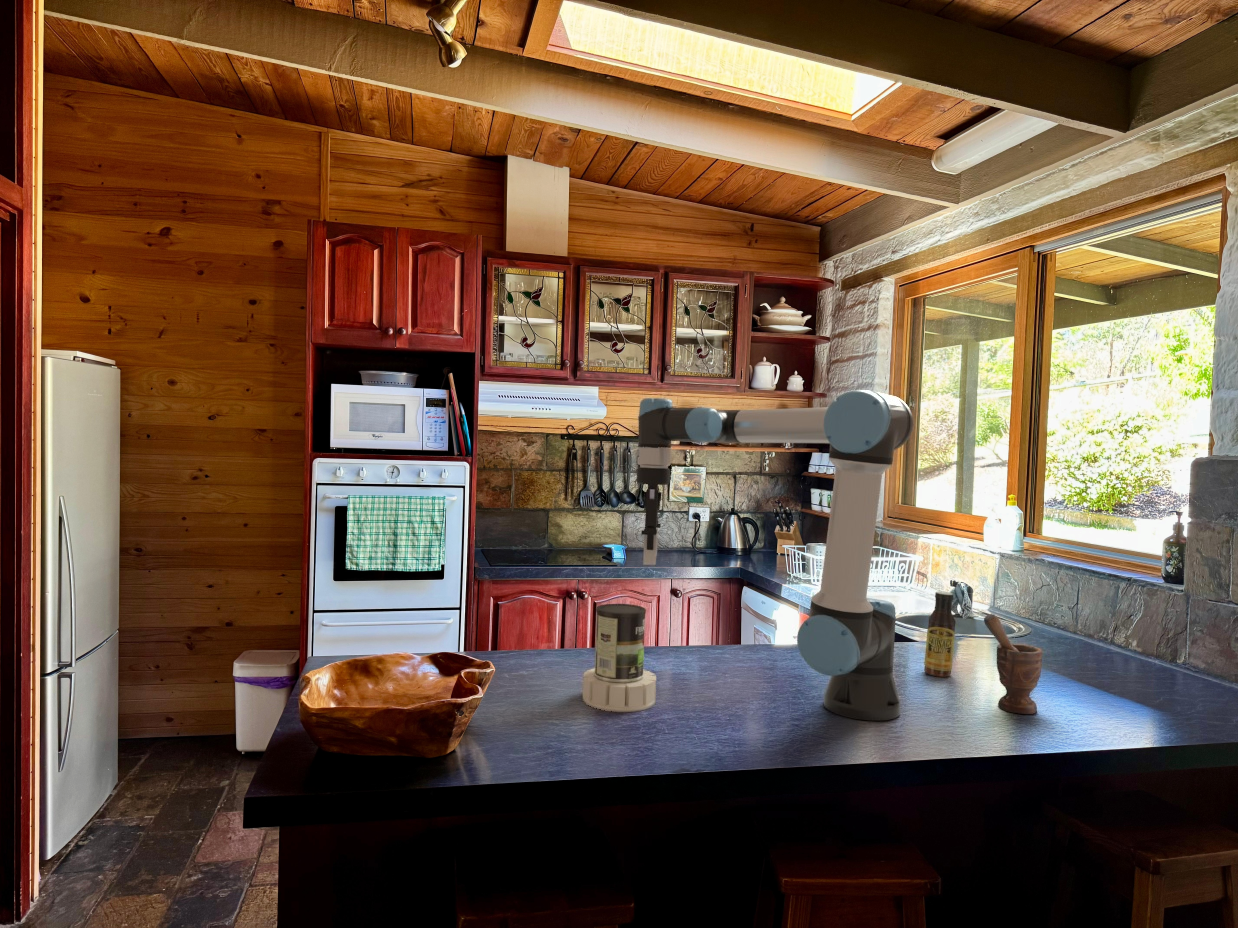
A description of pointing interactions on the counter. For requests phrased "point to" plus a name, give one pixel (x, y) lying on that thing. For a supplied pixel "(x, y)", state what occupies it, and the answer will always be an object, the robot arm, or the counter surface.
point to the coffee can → (619, 642)
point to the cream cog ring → (619, 693)
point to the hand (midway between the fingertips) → (650, 560)
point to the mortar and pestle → (1015, 670)
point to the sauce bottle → (940, 637)
